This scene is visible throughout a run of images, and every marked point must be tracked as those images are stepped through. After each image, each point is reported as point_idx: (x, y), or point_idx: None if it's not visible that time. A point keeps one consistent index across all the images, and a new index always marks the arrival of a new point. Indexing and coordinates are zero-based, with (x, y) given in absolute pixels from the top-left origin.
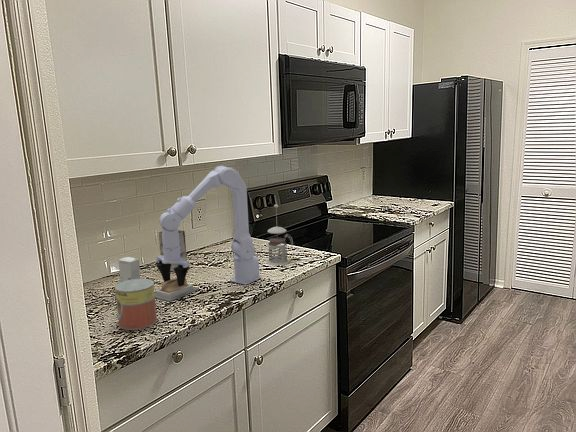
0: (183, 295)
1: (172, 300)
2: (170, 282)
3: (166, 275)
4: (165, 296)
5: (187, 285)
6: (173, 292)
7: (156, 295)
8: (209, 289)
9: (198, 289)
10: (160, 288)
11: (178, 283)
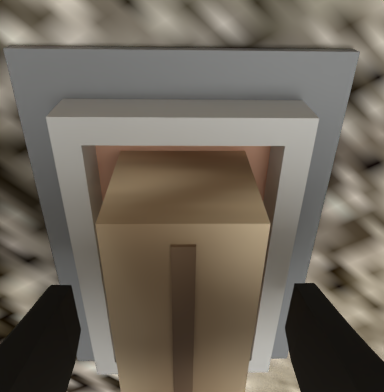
0: (49, 230)
1: (20, 96)
2: (171, 290)
3: (320, 378)
4: (128, 103)
5: None
6: (61, 183)
7: (278, 93)
8: None
9: (78, 351)
10: (301, 193)
11: (39, 309)
